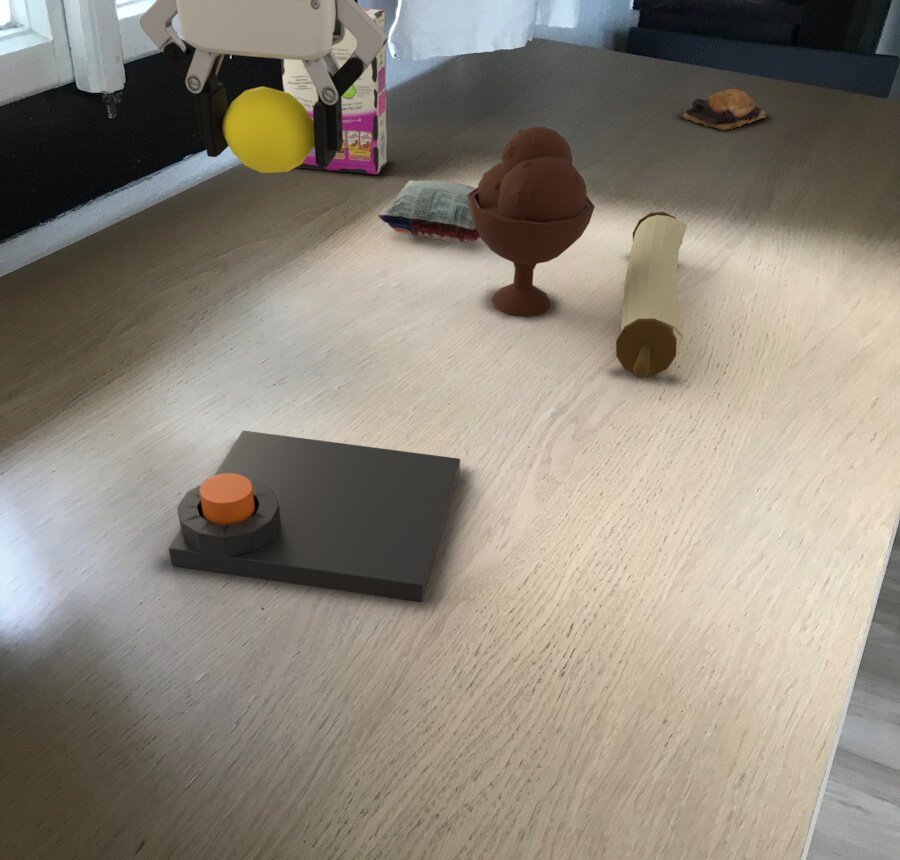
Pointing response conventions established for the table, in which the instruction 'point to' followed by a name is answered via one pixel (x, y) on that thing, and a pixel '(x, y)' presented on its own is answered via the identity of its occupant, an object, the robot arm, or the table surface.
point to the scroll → (651, 297)
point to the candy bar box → (350, 107)
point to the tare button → (227, 498)
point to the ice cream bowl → (530, 212)
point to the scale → (326, 516)
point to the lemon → (268, 130)
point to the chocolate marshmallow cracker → (725, 110)
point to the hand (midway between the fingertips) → (272, 153)
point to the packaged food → (433, 211)
